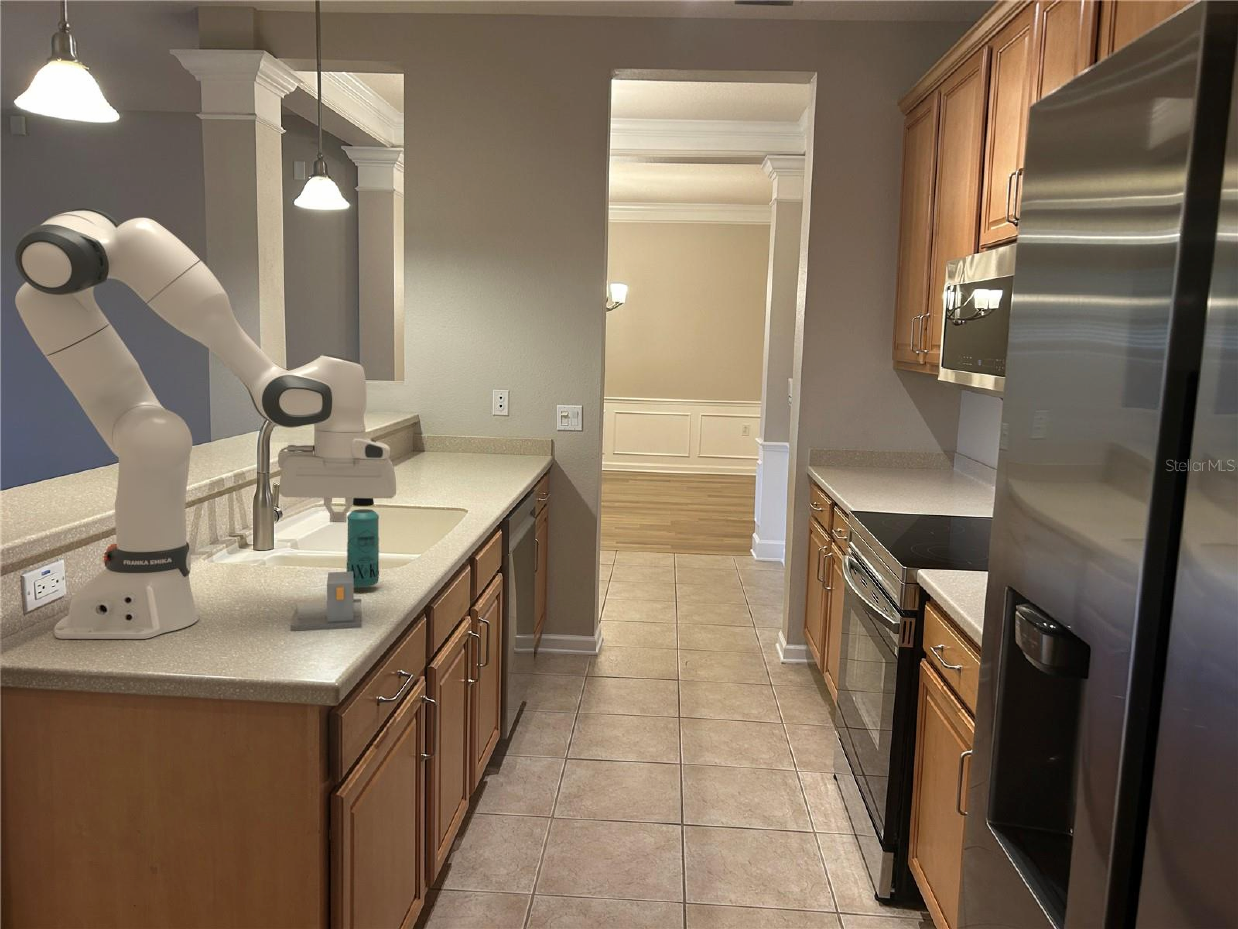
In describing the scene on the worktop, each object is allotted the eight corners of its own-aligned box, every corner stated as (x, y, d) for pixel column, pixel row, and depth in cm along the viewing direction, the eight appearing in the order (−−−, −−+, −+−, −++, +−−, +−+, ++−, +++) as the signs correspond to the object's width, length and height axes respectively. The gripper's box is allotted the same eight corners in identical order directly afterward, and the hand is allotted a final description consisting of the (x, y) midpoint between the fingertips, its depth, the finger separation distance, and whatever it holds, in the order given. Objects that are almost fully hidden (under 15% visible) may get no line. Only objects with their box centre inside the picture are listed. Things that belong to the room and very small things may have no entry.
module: (327, 622, 163) (326, 584, 162) (328, 608, 172) (328, 572, 171) (353, 621, 165) (353, 583, 164) (353, 607, 173) (353, 571, 172)
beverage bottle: (340, 589, 189) (339, 493, 186) (370, 583, 193) (369, 490, 190) (356, 596, 184) (355, 498, 181) (386, 590, 189) (385, 494, 186)
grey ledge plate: (290, 631, 161) (290, 611, 161) (294, 614, 171) (294, 596, 170) (361, 627, 165) (361, 608, 164) (361, 611, 174) (361, 593, 174)
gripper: (276, 446, 158) (275, 525, 160) (398, 449, 164) (395, 525, 166) (279, 442, 164) (278, 518, 166) (396, 445, 170) (394, 519, 172)
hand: (338, 521), depth 166 cm, fingers closed
